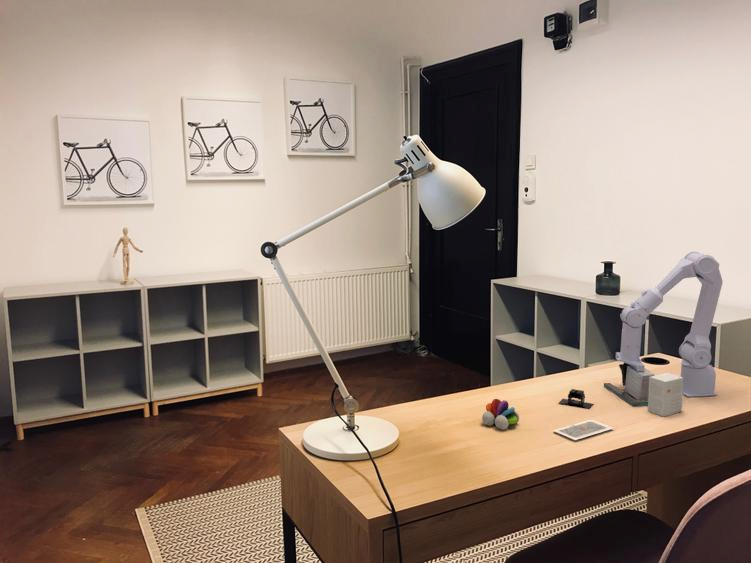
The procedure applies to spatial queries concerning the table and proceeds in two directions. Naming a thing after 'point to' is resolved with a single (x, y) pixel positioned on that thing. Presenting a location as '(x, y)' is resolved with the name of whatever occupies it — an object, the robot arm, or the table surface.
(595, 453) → the table surface
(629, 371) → the medicine box
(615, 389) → the track
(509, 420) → the bunch of balls
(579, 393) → the black ring bracket
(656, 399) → the small box
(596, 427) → the touchpad
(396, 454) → the table surface
